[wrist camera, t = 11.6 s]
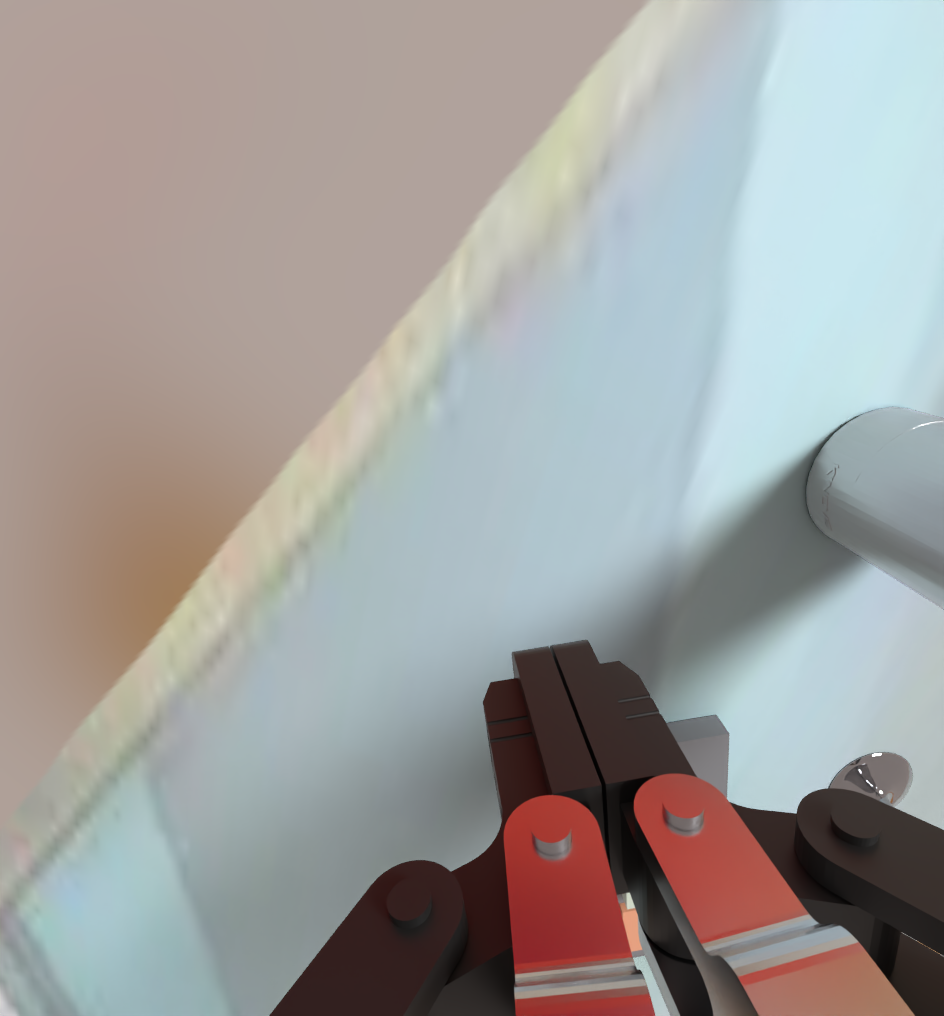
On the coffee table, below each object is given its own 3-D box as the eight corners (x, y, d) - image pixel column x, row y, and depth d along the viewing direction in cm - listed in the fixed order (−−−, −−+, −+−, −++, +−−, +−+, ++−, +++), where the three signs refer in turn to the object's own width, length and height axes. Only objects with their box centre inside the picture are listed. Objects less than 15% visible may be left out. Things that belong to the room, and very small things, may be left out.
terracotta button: (669, 874, 51) (683, 904, 48) (670, 913, 53) (682, 944, 50) (612, 884, 51) (623, 915, 48) (615, 924, 52) (625, 955, 50)
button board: (716, 714, 45) (729, 733, 44) (710, 917, 53) (721, 941, 52) (555, 741, 45) (562, 762, 43) (574, 943, 53) (580, 967, 51)
